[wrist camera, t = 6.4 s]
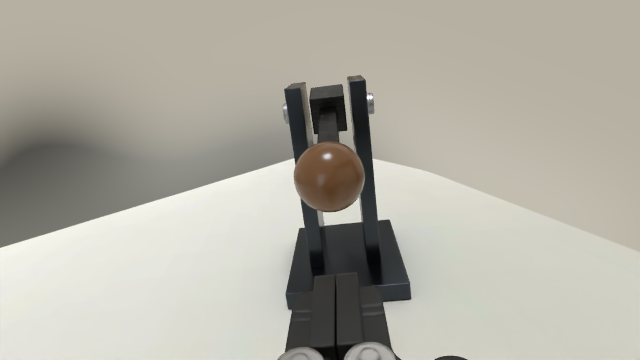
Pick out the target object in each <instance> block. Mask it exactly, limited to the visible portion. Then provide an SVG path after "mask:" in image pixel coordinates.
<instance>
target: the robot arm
mask: <svg viewBox="0 0 640 360" xmlns="http://www.w3.org/2000/svg"><path fill="white" fill-rule="evenodd" d="M336 277H337V283H336ZM278 360H401V359H400V358H398V357H397V356H396V355H395V353H394V352H393V350H392V347H391V343H390V338H389V332H388V327H387V322H386V317H385V311H384V306H383V301H382V295H381V293H380V292H379V291H378V290H377V289H376V288H375V287H374V285H372V286H361V287H358V278H357V272H355V273H344V274H337V276H335V274H334V275H323V276H315V277H314V287H313V291H305V292H300V294H299V295H298V296H297V298H296V299H295V300H294V301H293V307H292V314H291V319H290V325H289V331H288V337H287V343H286V349H285V353H284V354H282V355H281V356H280V357H279V358H278ZM435 360H467V359H465V358H462V357H458V356H443V357H439V358H437V359H435Z"/></svg>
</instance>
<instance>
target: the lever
mask: <svg viewBox="0 0 640 360" xmlns="http://www.w3.org/2000/svg"><path fill="white" fill-rule="evenodd" d="M309 101H310V108H311V115H312V122H313V129H314V134H318V142H317V144H315V145H313V146H311V147H309V148H308V149H307V150H306V151H305V152H304V153H303V154H302V155H301V156H300V158H299V159H298V161H297V163H296V166H295V170H294V184H295V187H296V190H297V193H298V194H299V196H300V198H301V199H302V200H303V201H304V202H305V203H306V204H307V205H308V206H310V207H312V208H313V209H316V210H318V211H322V212H337V211H340V210H343V209H345V208H347V207H349V206H350V205H352V204H353V203H354V202H355V201H356V200H357V198H358V197H359V195H360V194H361V192H362V189H363V186H364V181H365V172H364V168H363V164H362V162H361V160H360V158H359V157H358V155H357V154H356V153H355V152H354V151H353V150H352V149H351V148H349V147H348V146H346V145H344V144H341V143H339V131H347V122H346V112H345V104H344V94H343V86H342V84H340V85H332V86H324V87H317V88H311V92H310V99H309Z"/></svg>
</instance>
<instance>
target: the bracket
mask: <svg viewBox="0 0 640 360" xmlns="http://www.w3.org/2000/svg"><path fill="white" fill-rule="evenodd" d="M347 81H348V91H349V101H350V111H351V121H352V131H353V141H354V151H355V153H356V154H357V155H358V157H359V158H360V160H361V162H362V164H363V168H364V172H365V181H364V186H363V189H362V192H361V194H360V195H359V200H360V210H361V220H362V222H360V223H349V224H339V225H329V226H324V219H323V212H322V211H318V210H316V209H313V208H312V207H310V206H308V205H307V204H306V203H305V202H304V201H303V200H302V199H301V205H302V212H303V219H304V225H305V228H300V229H299V232H298V237H297V242H296V247H295V251H294V256H293V261H292V266H291V271H290V275H289V280H288V285H287V290H286V299H287V305H288V309H292V307H293V301H294V300H295V299H296V298H297V296H298V295H299V294H300V292H305V291H313V287H314V277H315V276H323V275H334V274H335V276H337V274H344V273H355V272H357V278H358V287H361V286H372V285H374V287H375V288H376V289H377V290H378V291H379V292H380V293H381V295H382V301H392V300H404V299H411V290H410V282H409V279H408V275H407V272H406V269H405V266H404V263H403V260H402V257H401V254H400V251H399V247H398V244H397V241H396V238H395V235H394V232H393V229H392V226H391V222H390V220H380V221H378V218H377V207H376V195H375V184H374V172H373V161H372V150H371V138H370V126H369V114H374V101H373V95H372V93H367V92H366V81H365V79H364V78H363V77H362V76H361V75H358V76H350V77H347ZM284 91H285V98H286V103H285V104H283V113H284V119H285V123H286V124H289V125H290V131H291V138H292V145H293V151H294V158H295V165H296V163H297V161H298V159H299V158H300V156H301V155H302V154H303V153H304V152H305V151H306V150H307V149H308V148H309V147H311V146H313V145H314V144H313V136H312V128H311V121H310V113H309V106H308V98H307V91H306V83H305V82H302V83H294V84H291V85H290V86H288V87H287V88H286V89H284ZM336 283H337V277H336Z"/></svg>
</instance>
